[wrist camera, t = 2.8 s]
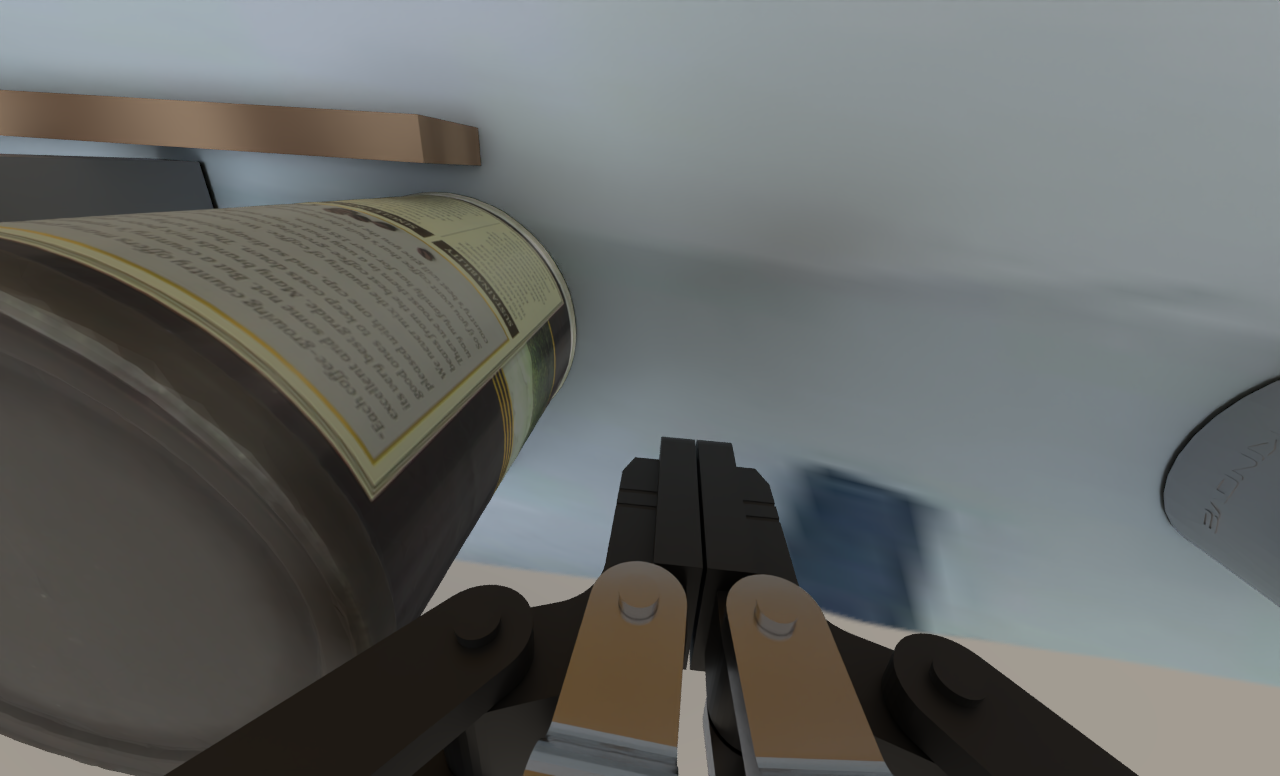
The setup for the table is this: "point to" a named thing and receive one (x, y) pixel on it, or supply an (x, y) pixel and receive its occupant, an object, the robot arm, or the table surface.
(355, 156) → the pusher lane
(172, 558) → the coffee can
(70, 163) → the pusher paddle
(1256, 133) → the table surface
